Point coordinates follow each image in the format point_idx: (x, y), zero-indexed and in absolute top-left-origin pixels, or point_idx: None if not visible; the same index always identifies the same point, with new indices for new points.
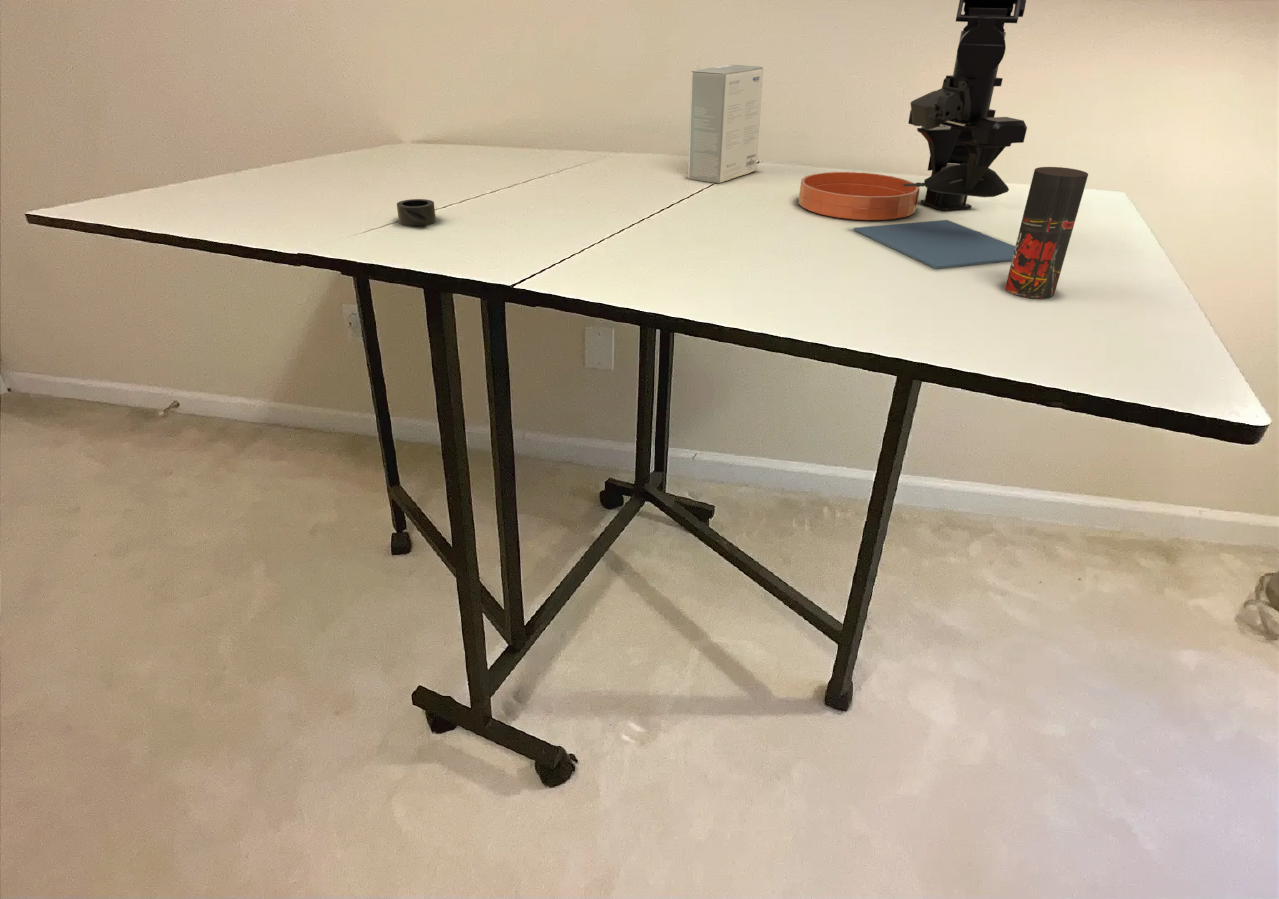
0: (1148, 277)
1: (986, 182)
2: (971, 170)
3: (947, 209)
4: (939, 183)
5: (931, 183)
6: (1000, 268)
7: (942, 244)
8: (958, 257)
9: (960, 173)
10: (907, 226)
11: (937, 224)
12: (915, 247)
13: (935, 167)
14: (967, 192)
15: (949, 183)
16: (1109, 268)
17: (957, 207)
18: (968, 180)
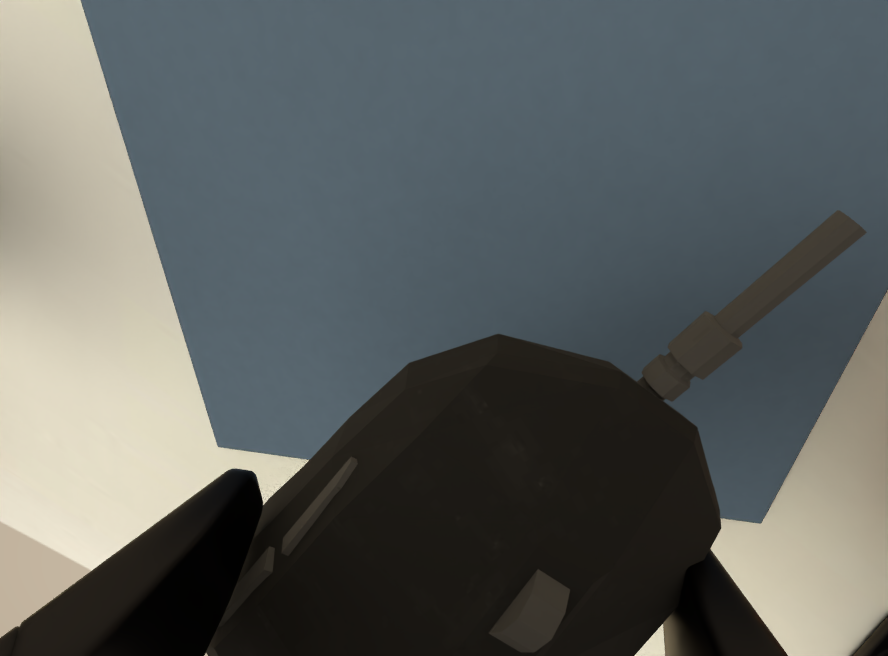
0: (50, 522)
1: None
2: (46, 605)
3: (884, 622)
4: (419, 408)
5: (509, 380)
6: (100, 240)
7: (429, 235)
8: (207, 149)
9: (331, 604)
10: (806, 304)
11: (730, 448)
12: (421, 38)
13: (712, 641)
14: (291, 482)
15: (350, 456)
16: (120, 512)
17: (864, 654)
18: (158, 522)
